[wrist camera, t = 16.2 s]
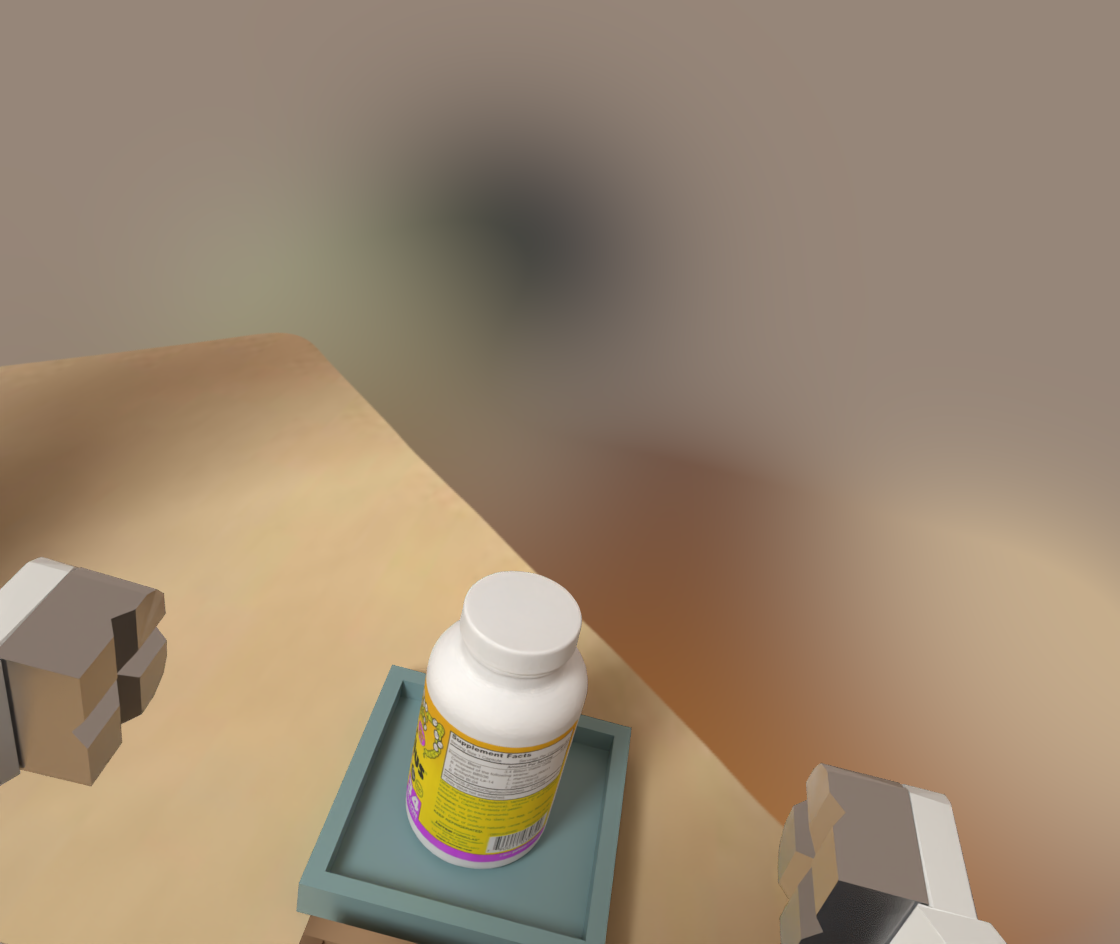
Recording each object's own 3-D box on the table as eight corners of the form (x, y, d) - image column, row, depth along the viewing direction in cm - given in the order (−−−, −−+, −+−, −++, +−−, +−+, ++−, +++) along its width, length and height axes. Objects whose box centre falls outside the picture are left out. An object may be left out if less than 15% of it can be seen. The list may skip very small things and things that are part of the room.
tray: (296, 911, 40) (298, 883, 39) (388, 691, 51) (392, 664, 49) (591, 990, 40) (602, 965, 39) (622, 753, 50) (631, 727, 49)
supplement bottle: (432, 735, 48) (470, 534, 41) (560, 778, 47) (621, 582, 40) (379, 847, 42) (413, 638, 35) (523, 898, 42) (588, 695, 35)
